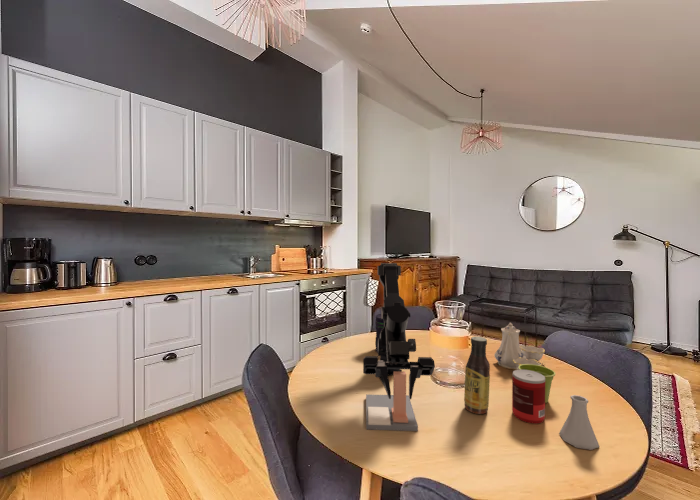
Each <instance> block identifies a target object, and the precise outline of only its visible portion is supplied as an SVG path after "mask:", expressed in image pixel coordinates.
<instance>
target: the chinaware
mask: <svg viewBox="0 0 700 500" xmlns="http://www.w3.org/2000/svg"><path fill="white" fill-rule="evenodd" d="M500 330H501V334H502V335H501V337H502V338H501V343H500V345H499V347H498V349H497V350H496V352H494V355H493V357H494V358H495V359H496V361H497V364H498V365H499V367H502V368H505V369H508V370H519V368H518V367H519V365H522V364H533V365H539V366H543V364H542V363H541V362H538V361H540V360H541V359H542V358H543V356H544V354H545V353H546V351H545V349H544V348H543V347H537V346H535V345H527V346H526V345H521V346H520V337H519V335H520V332H521V330H520V329H517V328H516V327H515V326H513V323H512V322H509V323H508V325H506V326H505V327H501V328H500Z"/></svg>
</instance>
